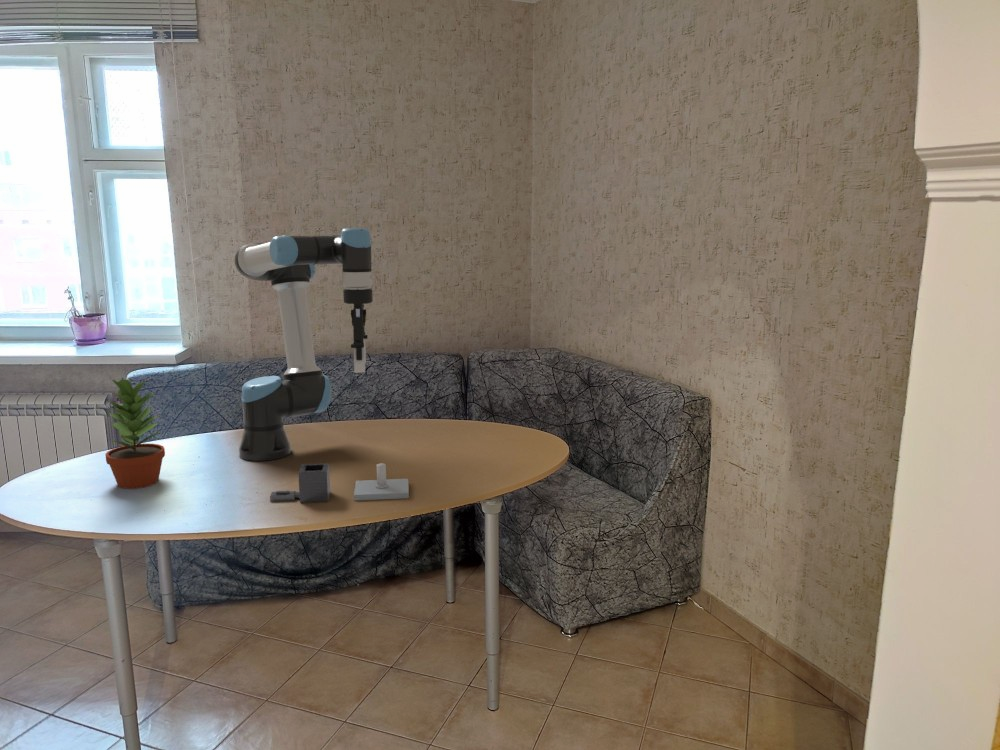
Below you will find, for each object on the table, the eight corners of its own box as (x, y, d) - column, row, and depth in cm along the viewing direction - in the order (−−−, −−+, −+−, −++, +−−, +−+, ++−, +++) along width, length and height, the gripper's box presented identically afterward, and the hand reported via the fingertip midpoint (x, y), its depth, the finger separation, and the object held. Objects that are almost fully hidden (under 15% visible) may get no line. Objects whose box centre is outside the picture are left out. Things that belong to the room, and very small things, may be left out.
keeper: (353, 500, 194) (352, 472, 193) (356, 485, 205) (355, 459, 203) (408, 498, 196) (408, 470, 194) (408, 483, 207) (407, 457, 205)
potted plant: (180, 478, 210) (171, 372, 204) (130, 495, 197) (119, 382, 191) (146, 469, 217) (137, 366, 211) (96, 484, 204) (84, 376, 198)
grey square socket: (269, 504, 191) (267, 473, 190) (273, 494, 198) (271, 465, 196) (328, 501, 193) (326, 471, 192) (330, 492, 200) (329, 463, 198)
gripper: (371, 292, 187) (374, 376, 191) (372, 284, 211) (374, 359, 215) (340, 292, 186) (344, 376, 190) (345, 284, 210) (348, 359, 214)
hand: (360, 367), depth 203 cm, fingers open, 13 cm apart
